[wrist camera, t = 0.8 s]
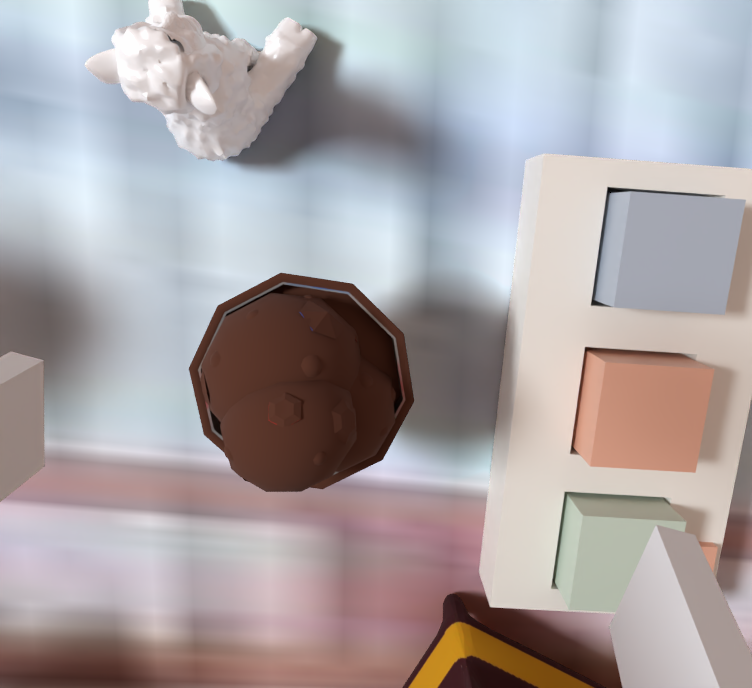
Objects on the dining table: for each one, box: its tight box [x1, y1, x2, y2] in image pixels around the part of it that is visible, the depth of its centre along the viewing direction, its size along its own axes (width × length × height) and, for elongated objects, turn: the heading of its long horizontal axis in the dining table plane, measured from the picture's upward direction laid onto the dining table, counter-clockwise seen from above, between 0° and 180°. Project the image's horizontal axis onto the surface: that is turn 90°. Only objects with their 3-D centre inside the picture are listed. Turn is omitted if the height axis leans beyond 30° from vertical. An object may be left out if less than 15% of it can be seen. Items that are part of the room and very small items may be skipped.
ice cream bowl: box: [189, 273, 414, 492], centre depth 33 cm, size 11×11×15 cm
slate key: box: [592, 191, 746, 315], centre depth 35 cm, size 6×6×4 cm
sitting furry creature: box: [85, 0, 317, 161], centre depth 31 cm, size 10×9×12 cm
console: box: [479, 154, 752, 614], centre depth 39 cm, size 28×14×5 cm, turn 176°
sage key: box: [553, 492, 686, 612], centre depth 39 cm, size 6×6×4 cm
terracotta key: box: [571, 347, 715, 473], centre depth 37 cm, size 6×6×4 cm
